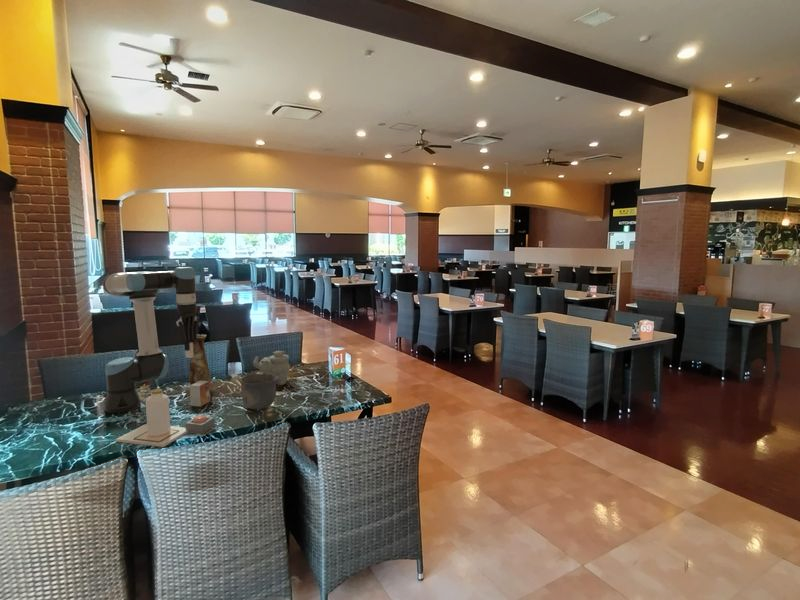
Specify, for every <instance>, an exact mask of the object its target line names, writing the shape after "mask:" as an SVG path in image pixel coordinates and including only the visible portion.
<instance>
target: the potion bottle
mask: <svg viewBox="0 0 800 600" xmlns="http://www.w3.org/2000/svg"><path fill="white" fill-rule="evenodd" d="M169 401H170V400H169V396H168V395H167V394H165V393H164V392H163V389H162V388H155V389H152V390H150V395H149V396H147V397H146V399H145V412H146V413H145V414H146V415H145V416H146V424H147V429H148V434H149V435H150V436H161V435H164V434H167V433H168V432H169V431H170V429H171V428H170V426H171V415H170V414H171V413H170V402H169Z"/></svg>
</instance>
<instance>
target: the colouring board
mask: <svg viewBox="0 0 800 600" xmlns="http://www.w3.org/2000/svg"><path fill="white" fill-rule="evenodd" d="M170 428H171V429H170V431H169V432H168V433H167V434H164V435H161V436H150V435H149V434H148V429H147V423H146V424H143V425H141V426H139V427H137V428H135V429H133V430H131V431H129V432H127V433H125V434H123V435H121V436H119V437H117V438H115V442H118V443H124V444H135V445H141V446H142V445H143V446H149V447H160V448H164V447H167V446H168V445H169V444H171V443H173V442H175V441H177V440H178V439H180V438H181V437H183V436H184V435H186V434H188V430H186V427H183V426H173V425H170Z"/></svg>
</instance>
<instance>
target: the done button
mask: <svg viewBox="0 0 800 600" xmlns="http://www.w3.org/2000/svg"><path fill="white" fill-rule="evenodd" d="M206 417H207V416H206V415H204V414H203V415H202V414H201V415H195V416H194V417H193V418H192V419H193V422H194V423H203V422H205V421H206Z"/></svg>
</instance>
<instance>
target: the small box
mask: <svg viewBox="0 0 800 600" xmlns="http://www.w3.org/2000/svg"><path fill="white" fill-rule="evenodd" d="M210 384H211V383H210ZM210 384H209V381H198V382H196V383H194V384H192V385H190V384H189V397H190V406H191V407H203V406H204V405H207V404H208V403H210V402H211V387H210V386H211V385H210Z"/></svg>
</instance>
